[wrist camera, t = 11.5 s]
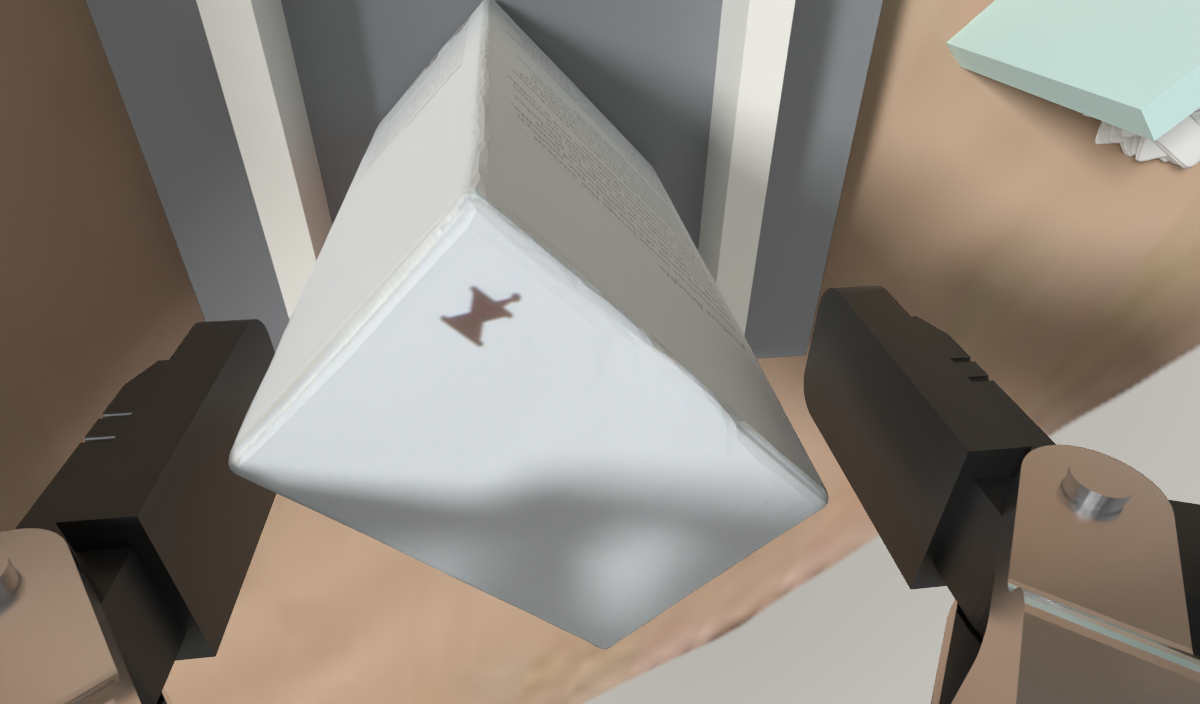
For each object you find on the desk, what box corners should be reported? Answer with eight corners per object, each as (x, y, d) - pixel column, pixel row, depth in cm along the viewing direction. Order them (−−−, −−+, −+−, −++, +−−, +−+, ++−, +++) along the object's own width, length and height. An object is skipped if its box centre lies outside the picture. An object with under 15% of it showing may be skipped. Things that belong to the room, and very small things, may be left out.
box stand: (890, -180, 16) (977, -194, 13) (789, 330, 24) (830, 392, 21) (52, -198, 14) (-65, -219, 11) (247, 364, 22) (209, 436, 19)
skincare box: (373, 126, 17) (195, 467, 7) (488, -11, 15) (473, 169, 6) (551, 276, 20) (604, 665, 10) (661, 171, 18) (852, 501, 8)
